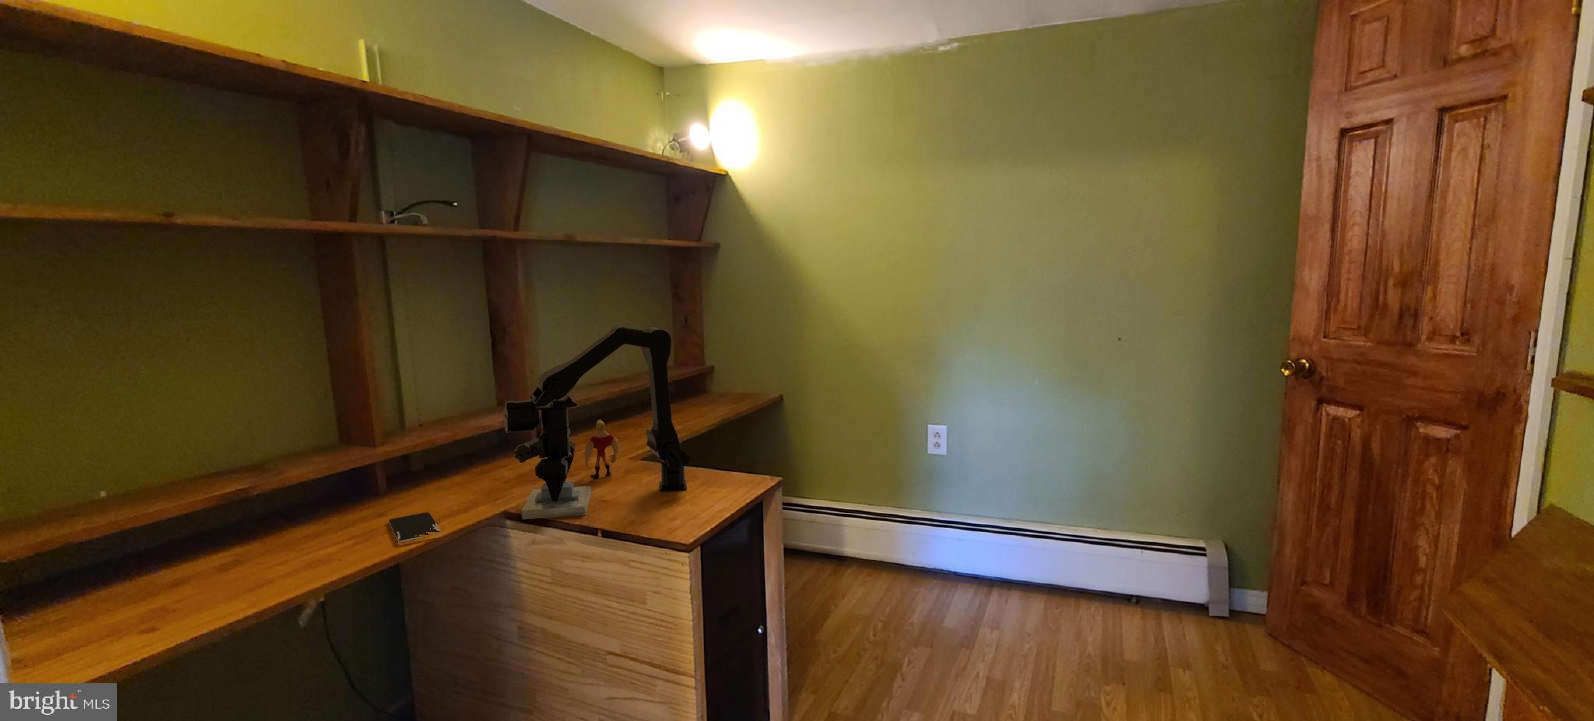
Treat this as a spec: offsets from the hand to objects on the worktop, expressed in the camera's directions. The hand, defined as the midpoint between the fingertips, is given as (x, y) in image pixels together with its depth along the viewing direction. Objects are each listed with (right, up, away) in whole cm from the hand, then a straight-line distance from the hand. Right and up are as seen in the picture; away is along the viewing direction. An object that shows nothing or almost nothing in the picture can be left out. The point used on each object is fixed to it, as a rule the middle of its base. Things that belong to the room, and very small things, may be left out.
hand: (557, 494), depth 152 cm
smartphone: (-25, -5, -14) cm, 29 cm away
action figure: (+3, 0, +22) cm, 23 cm away
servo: (0, -2, +2) cm, 3 cm away
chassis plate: (0, -3, 0) cm, 3 cm away
